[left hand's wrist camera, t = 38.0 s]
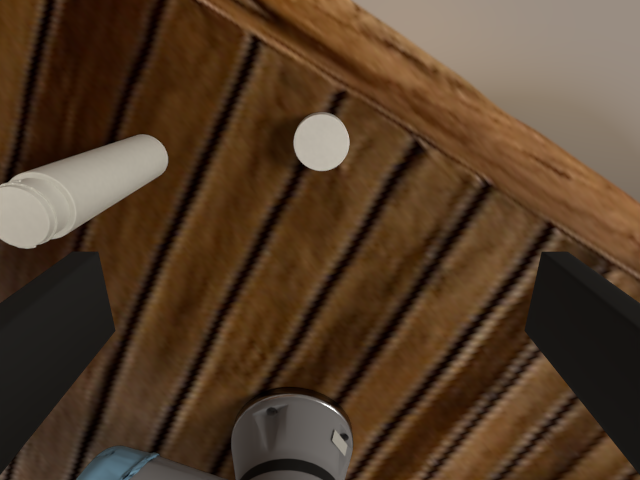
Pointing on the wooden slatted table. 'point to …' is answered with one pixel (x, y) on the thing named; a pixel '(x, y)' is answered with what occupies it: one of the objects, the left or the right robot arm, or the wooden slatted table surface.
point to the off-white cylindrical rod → (76, 189)
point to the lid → (321, 141)
